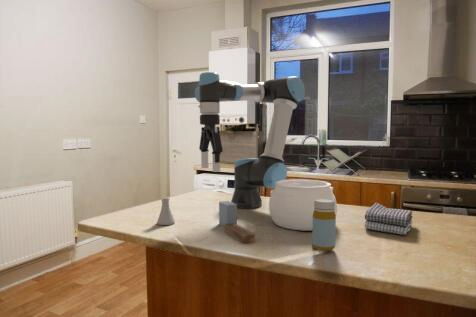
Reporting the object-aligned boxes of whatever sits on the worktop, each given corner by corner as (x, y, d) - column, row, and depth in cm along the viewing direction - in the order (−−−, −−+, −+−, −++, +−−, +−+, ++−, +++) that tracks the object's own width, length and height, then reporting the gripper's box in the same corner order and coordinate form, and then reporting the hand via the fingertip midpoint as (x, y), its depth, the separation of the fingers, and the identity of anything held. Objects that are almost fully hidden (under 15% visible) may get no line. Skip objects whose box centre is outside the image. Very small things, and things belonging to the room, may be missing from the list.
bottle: (309, 244, 108) (310, 198, 107) (330, 243, 109) (331, 198, 108) (316, 251, 101) (317, 202, 100) (338, 250, 102) (339, 202, 101)
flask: (170, 226, 129) (170, 200, 129) (153, 225, 131) (152, 200, 130) (177, 221, 136) (177, 197, 136) (161, 220, 138) (160, 196, 137)
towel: (363, 230, 124) (363, 209, 124) (372, 220, 140) (372, 201, 139) (408, 237, 116) (409, 215, 116) (412, 225, 132) (413, 205, 131)
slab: (228, 222, 134) (228, 200, 134) (236, 227, 127) (236, 204, 127) (219, 223, 133) (219, 201, 132) (227, 229, 126) (227, 205, 125)
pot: (293, 237, 115) (293, 190, 114) (254, 220, 138) (254, 181, 137) (353, 227, 128) (354, 184, 127) (308, 212, 151) (309, 177, 150)
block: (234, 229, 125) (234, 223, 124) (254, 242, 110) (254, 234, 110) (224, 230, 123) (224, 224, 123) (244, 243, 108) (244, 236, 108)
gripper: (191, 115, 137) (192, 167, 139) (211, 112, 114) (211, 173, 116) (208, 116, 140) (209, 166, 142) (231, 112, 117) (231, 172, 119)
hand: (210, 169), depth 129 cm, fingers open, 13 cm apart
